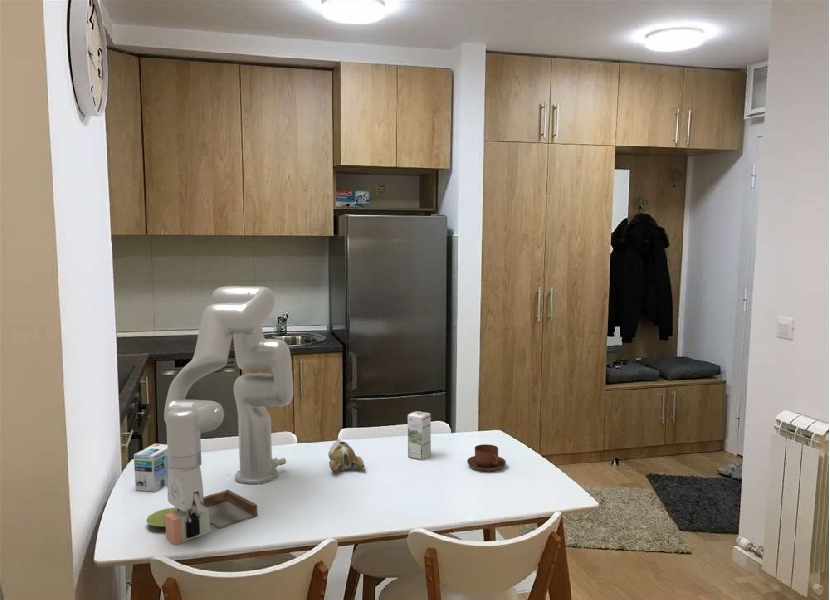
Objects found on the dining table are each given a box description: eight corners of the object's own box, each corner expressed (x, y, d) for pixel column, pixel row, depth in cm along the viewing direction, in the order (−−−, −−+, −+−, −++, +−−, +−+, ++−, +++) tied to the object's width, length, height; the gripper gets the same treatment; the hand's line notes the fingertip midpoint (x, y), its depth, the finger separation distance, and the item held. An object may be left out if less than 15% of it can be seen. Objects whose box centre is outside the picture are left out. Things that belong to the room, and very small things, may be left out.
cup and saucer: (513, 466, 206) (513, 447, 205) (490, 476, 197) (490, 457, 197) (482, 458, 214) (482, 439, 213) (459, 467, 205) (459, 448, 205)
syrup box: (431, 455, 216) (431, 412, 215) (422, 460, 211) (421, 416, 210) (417, 452, 219) (416, 410, 218) (407, 457, 214) (406, 414, 213)
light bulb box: (155, 492, 187) (153, 455, 186) (134, 491, 188) (132, 454, 187) (176, 479, 198) (174, 444, 197) (156, 477, 199) (154, 443, 198)
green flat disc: (198, 513, 173) (197, 505, 172) (188, 531, 161) (188, 524, 161) (153, 515, 171) (153, 508, 171) (141, 534, 160) (140, 527, 160)
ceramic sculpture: (353, 432, 214) (366, 448, 200) (353, 457, 215) (366, 475, 201) (321, 436, 210) (332, 453, 196) (321, 462, 211) (332, 480, 197)
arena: (228, 500, 181) (227, 489, 181) (257, 515, 170) (257, 504, 170) (190, 512, 173) (190, 501, 173) (218, 529, 163) (218, 517, 162)
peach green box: (201, 526, 164) (200, 503, 163) (209, 532, 161) (209, 508, 160) (166, 538, 158) (165, 514, 157) (174, 544, 155) (173, 520, 154)
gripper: (154, 455, 161) (158, 527, 162) (186, 472, 149) (189, 549, 151) (183, 448, 166) (186, 517, 168) (216, 464, 154) (219, 538, 156)
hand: (188, 532), depth 159 cm, fingers closed on peach green box, 4 cm apart
